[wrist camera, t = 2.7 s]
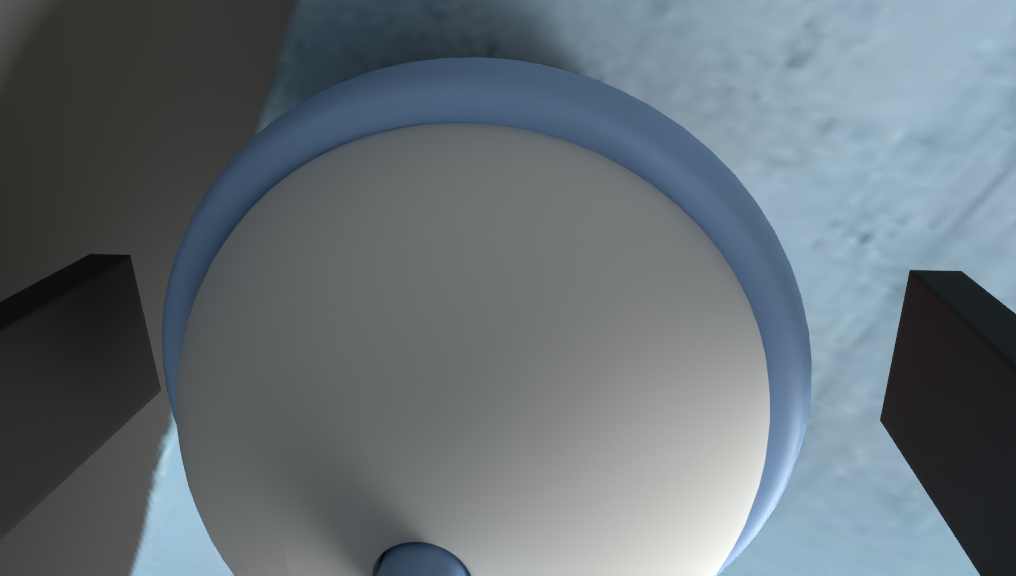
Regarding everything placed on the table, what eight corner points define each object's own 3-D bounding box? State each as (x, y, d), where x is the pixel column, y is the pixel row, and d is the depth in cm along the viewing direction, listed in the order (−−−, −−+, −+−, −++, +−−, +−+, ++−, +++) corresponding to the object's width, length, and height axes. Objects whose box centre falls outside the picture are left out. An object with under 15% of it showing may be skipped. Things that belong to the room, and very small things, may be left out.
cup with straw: (410, 363, 22) (-122, 1478, 6) (327, 52, 19) (-1493, 585, 2) (720, 327, 21) (1206, 1714, 4) (690, -19, 17) (2469, 135, 1)
